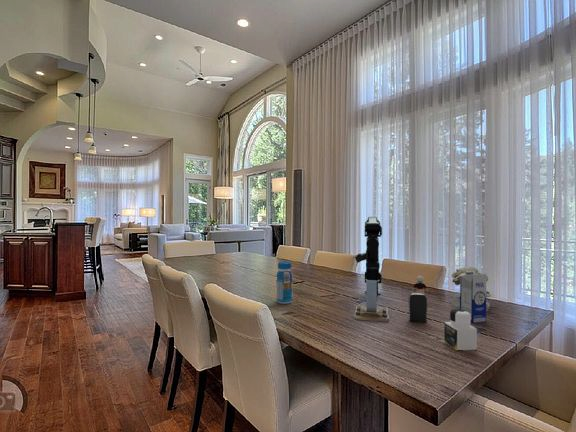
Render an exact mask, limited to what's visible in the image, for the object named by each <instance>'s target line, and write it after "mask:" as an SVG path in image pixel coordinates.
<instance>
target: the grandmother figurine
mask: <svg viewBox="0 0 576 432" xmlns="http://www.w3.org/2000/svg"><path fill="white" fill-rule="evenodd" d="M423 282H424V276H422V275H418V276H416V283H414V284H413V285H412V288H411V291H414V290H415V289H416V292H415V293H422V294H424V295H425V296H426V294H425V291H426V292H429V289H428V287H427V285H426V284H425V283H423Z"/></svg>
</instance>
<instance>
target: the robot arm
mask: <svg viewBox="0 0 576 432" xmlns="http://www.w3.org/2000/svg"><path fill="white" fill-rule="evenodd" d="M382 236H383V227H382V225H381V221H380V220H379V219H378V217H377V216H368V217H367V219H366V220H365V222H364V237H366V243H365V245H366V250H365V252H363V253H357V254H356V255H355V256H354V258H355V260H356V264H357V263H360V262H364V261H366V262H365V271H364V283H365V284H366V281H367V280H375V281H377V295H381V293H380V292H379V284H382V281H383V280H382V279H383V278H382V277H383V275H382V274H381V272H380V265H381V264H380V259H379V258H380V257H379V256H380V255H379V254H380V253H379V252H380V251H379V249H380V242H379V240H380V239H379V238H381V237H382ZM364 293H365V294H366V290H364Z"/></svg>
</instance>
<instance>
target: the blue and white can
mask: <svg viewBox="0 0 576 432" xmlns="http://www.w3.org/2000/svg"><path fill="white" fill-rule="evenodd" d="M277 269H278V271H277V272H276V275H275V276H276V302H277V303H278V304H283V305H284V304H286V305H287V304H291V303H292V302H293V282H294V280H293V276H294V275H293V272H292V271H291V269H292V262H291V261H285V260H284V261H278V263H277Z"/></svg>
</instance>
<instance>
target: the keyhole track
mask: <svg viewBox="0 0 576 432" xmlns="http://www.w3.org/2000/svg"><path fill="white" fill-rule="evenodd" d="M355 306H356V307H355V310H354V315H353V319H354V320H363V321H373V322H385V323H390V319H389V310H388V307H383V306H377V312H372V311H366V305H358V304H357V305H355Z"/></svg>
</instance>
